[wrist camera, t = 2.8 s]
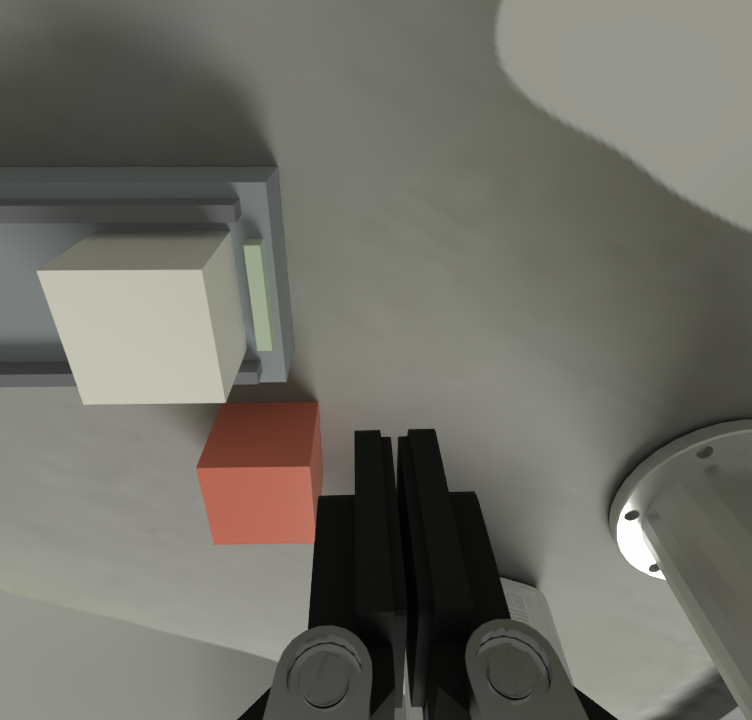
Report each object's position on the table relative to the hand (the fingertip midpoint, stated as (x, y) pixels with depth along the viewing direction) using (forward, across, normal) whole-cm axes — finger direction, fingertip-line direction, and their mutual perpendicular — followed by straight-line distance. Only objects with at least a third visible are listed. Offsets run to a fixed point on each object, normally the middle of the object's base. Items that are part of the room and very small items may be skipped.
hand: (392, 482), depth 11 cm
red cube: (+14, +5, +10) cm, 18 cm away
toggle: (+11, +8, 0) cm, 14 cm away
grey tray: (+14, +11, 0) cm, 18 cm away
